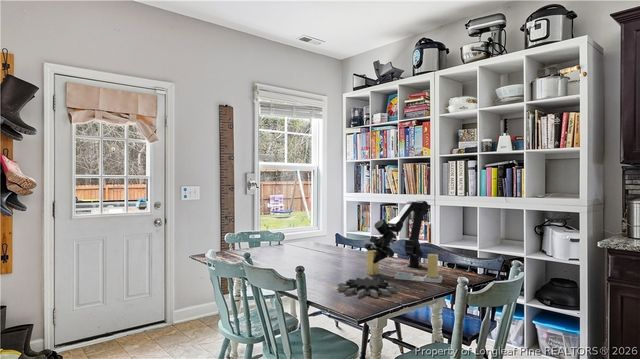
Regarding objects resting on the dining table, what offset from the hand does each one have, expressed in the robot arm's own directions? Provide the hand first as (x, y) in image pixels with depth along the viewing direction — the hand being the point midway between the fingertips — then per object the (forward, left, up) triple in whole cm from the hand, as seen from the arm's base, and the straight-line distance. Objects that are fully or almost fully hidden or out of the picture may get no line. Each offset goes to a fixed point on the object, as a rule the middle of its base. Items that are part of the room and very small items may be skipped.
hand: (370, 262), depth 211 cm
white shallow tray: (-4, +25, -7) cm, 26 cm away
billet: (-1, 0, -7) cm, 7 cm away
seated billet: (-6, +32, -6) cm, 33 cm away
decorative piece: (+27, +14, -7) cm, 31 cm away
